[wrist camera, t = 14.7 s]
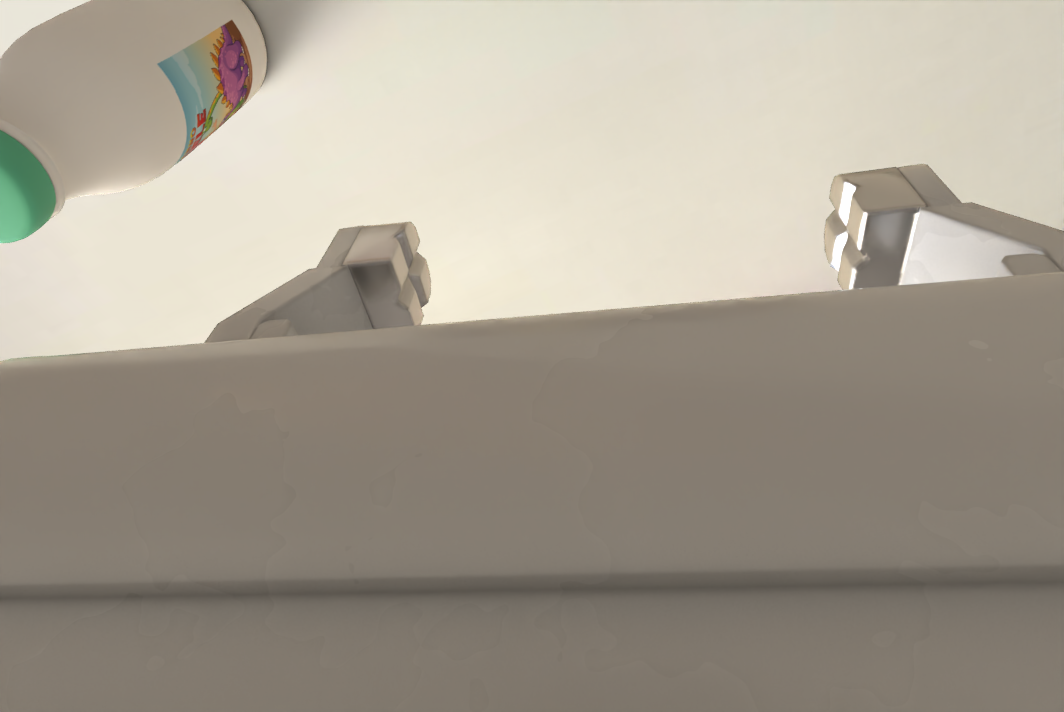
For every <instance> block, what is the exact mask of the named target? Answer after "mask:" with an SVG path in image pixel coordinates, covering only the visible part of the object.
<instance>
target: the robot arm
mask: <svg viewBox="0 0 1064 712" xmlns="http://www.w3.org/2000/svg"><path fill="white" fill-rule="evenodd" d="M829 199H830V200H831V202H832V204H833V206H834V208H835V210H834V211H833V212H832V213H831V215H830V216H829V217H828V218H827V219H826V224H825V233H824V243H825V253H826V257H827V260H828V262H829V264H830V266H831V267H832V268H834V269H836V270H838V271H839V273H838V279H837V281H838V283H839V285H840V286H841V288H842V290H837V291H825V292H813V293H801V294H789V295H777V296H765V297H753V298H741V299H729V300H717V301H705V302H693V303H681V304H669V305H657V306H645V307H633V308H621V309H609V310H597V311H585V312H573V313H561V314H548V315H536V316H524V317H512V318H500V319H488V320H476V321H464V322H452V323H440V324H428V325H421V323H422V320H423V317H424V315H423V312H422V309H421V308H422V307H423V306H424V305H426V304H427V303H428V301H429V297H430V294H431V279H430V273H429V268H428V265H427V261H426V259H425V258H424V257H422V256H421V255H420V254H419V253H418V252H416V251H417V248H418V246H419V243H420V239H419V236H418V233H417V230H416V227H415V226H414V225H413V224H412V222H402V223H391V224H380V225H369V226H363V225H362V226H356V227H349V228H343V229H339V230H338V232H337V234H336V235H335V237H334V239H333V240H332V242H331V244H330V246H329V247H328V249H327V251H326V252H325V254H324V256H323V257H322V259H321V261H320V263H319V264H318V266H317V268H314V269H308V270H307V271H305V272H303V273H302V274H300V275H298V276H297V277H295V278H293V279H292V280H290V281H288V282H287V283H285V284H283V285H282V286H280V287H278V288H277V289H275V290H273V291H272V292H270V293H268V294H267V295H265V296H263V297H262V298H260V299H258V300H257V301H255V302H253V303H252V304H250V305H248V306H247V307H245V308H243V309H241V310H240V311H238V312H236V313H235V314H233V315H231V316H230V317H228V318H226V319H225V320H223V321H221V322H220V323H218V324H217V326H216V327H215V328H214V330H213V331H212V333H211V334H210V335H209V337H208V338H207V340H206V341H205V343H201V344H189V345H177V346H166V347H154V348H142V349H130V350H118V351H106V352H94V353H82V354H70V355H58V356H38V357H24V358H13V359H8V360H3V361H0V712H1064V231H1062V230H1058V229H1055V228H1052V227H1049V226H1046V225H1042V224H1039V223H1036V222H1033V221H1030V220H1026V219H1023V218H1020V217H1017V216H1013V215H1010V214H1007V213H1004V212H1001V211H997V210H994V209H991V208H988V207H985V206H981V205H978V204H975V203H972V202H971V203H961V201H960V200H959V199H958V198H957V197H956V196H955V195H954V194H953V193H952V191H951V190H950V189H949V188H948V187H947V186H946V185H945V184H944V183H943V181H942V180H941V179H940V178H939V177H938V176H937V175H936V174H935V173H934V171H933V170H932V169H931V168H930V167H929V166H928V165H926V164H917V165H910V166H904V167H897V168H896V167H892V168H884V169H877V170H869V171H862V172H854V173H847V174H839V175H837V176H835V177H834V179H833V182H832V185H831V190H830V196H829Z"/></svg>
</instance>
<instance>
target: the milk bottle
mask: <svg viewBox="0 0 1064 712" xmlns="http://www.w3.org/2000/svg"><path fill="white" fill-rule="evenodd" d="M266 69H267V52H266V47H265V41H264V38H263V35H262V33H261V30H260V27H259V25H258V23H257V22H256V20H255V18H254V16H253V14H252V13H251V11H250V10H249V9H248V8H247V6H246V5H245V3H244V2H243V1H242V0H91V1H89V2H87V3H84V4H82V5H80V6H77V7H75V8H73V9H71V10H68V11H66V12H64V13H62V14H59V15H58V16H56V17H54V18H52V19H50V20H48V21H46V22H44V23H42V24H40V25H38V26H36V27H34V28H32V29H31V30H29V31H28V32H27V33H25V34H24V35H23V36H21V37H20V38H19V39H17V40H16V41H15V42H14V43H13V44H12V45H11V46H10V47H9V48H8V49H7V50H6V51H5V53H4V54H3V55H2V57H1V59H0V243H10V242H15V241H18V240H21V239H24V238H26V237H28V236H29V235H31V234H32V233H34V232H35V231H37V230H38V229H39V228H41V227H42V226H43V225H44V224H45V223H46V222H47V221H48V220H49V219H50V218H52V217H54V216H56V215H57V214H58V213H59V212H60V211H61V209H62V208H63V205H64V203H65V201H66V200H69V199H72V198H75V197H80V196H86V195H99V194H110V193H117V192H122V191H126V190H130V189H134V188H136V187H139V186H141V185H144V184H146V183H148V182H150V181H152V180H154V179H155V178H157V177H159V176H161V175H163V174H164V173H165V172H166V171H168V170H169V169H170V168H172V167H173V166H174V165H176V164H177V163H178V162H179V161H181V160H182V159H183V158H185V157H186V156H187V155H188V154H189V153H190V152H192V151H193V150H194V149H195V148H196V147H197V146H198V145H200V144H201V143H202V142H203V141H204V140H205V139H207V138H208V137H209V136H210V135H211V134H212V133H213V132H215V131H216V130H217V129H218V128H219V127H220V126H221V125H222V124H224V123H225V122H226V121H227V120H228V119H229V118H230V117H231V116H232V115H234V114H235V113H236V112H237V111H238V110H239V109H240V108H241V107H242V106H244V105H245V104H246V103H247V102H248V101H249V100H250V99H251V98H252V97H253V96H254V95H255V94H256V93H257V91H258V90H259V89H260V87H261V85H262V83H263V81H264V78H265V74H266Z"/></svg>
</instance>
